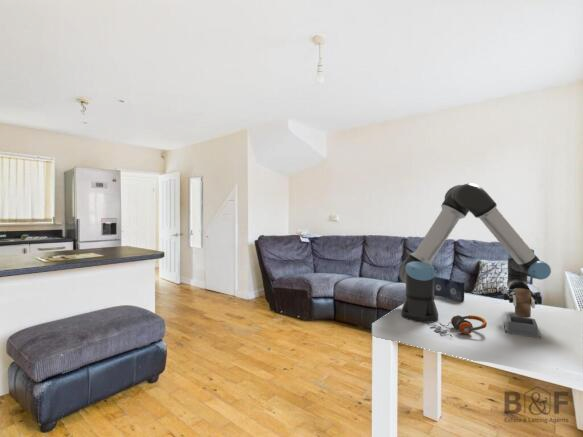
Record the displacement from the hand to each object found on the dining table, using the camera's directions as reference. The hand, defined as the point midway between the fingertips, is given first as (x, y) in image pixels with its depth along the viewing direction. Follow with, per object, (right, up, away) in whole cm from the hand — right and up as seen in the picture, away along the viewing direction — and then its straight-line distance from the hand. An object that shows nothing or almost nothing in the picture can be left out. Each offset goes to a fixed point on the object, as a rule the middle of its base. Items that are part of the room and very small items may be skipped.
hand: (524, 303), depth 121 cm
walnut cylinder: (+3, -6, +5) cm, 8 cm away
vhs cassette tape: (-4, -11, +52) cm, 53 cm away
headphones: (-22, -12, +5) cm, 26 cm away
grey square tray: (+3, -12, +5) cm, 13 cm away
